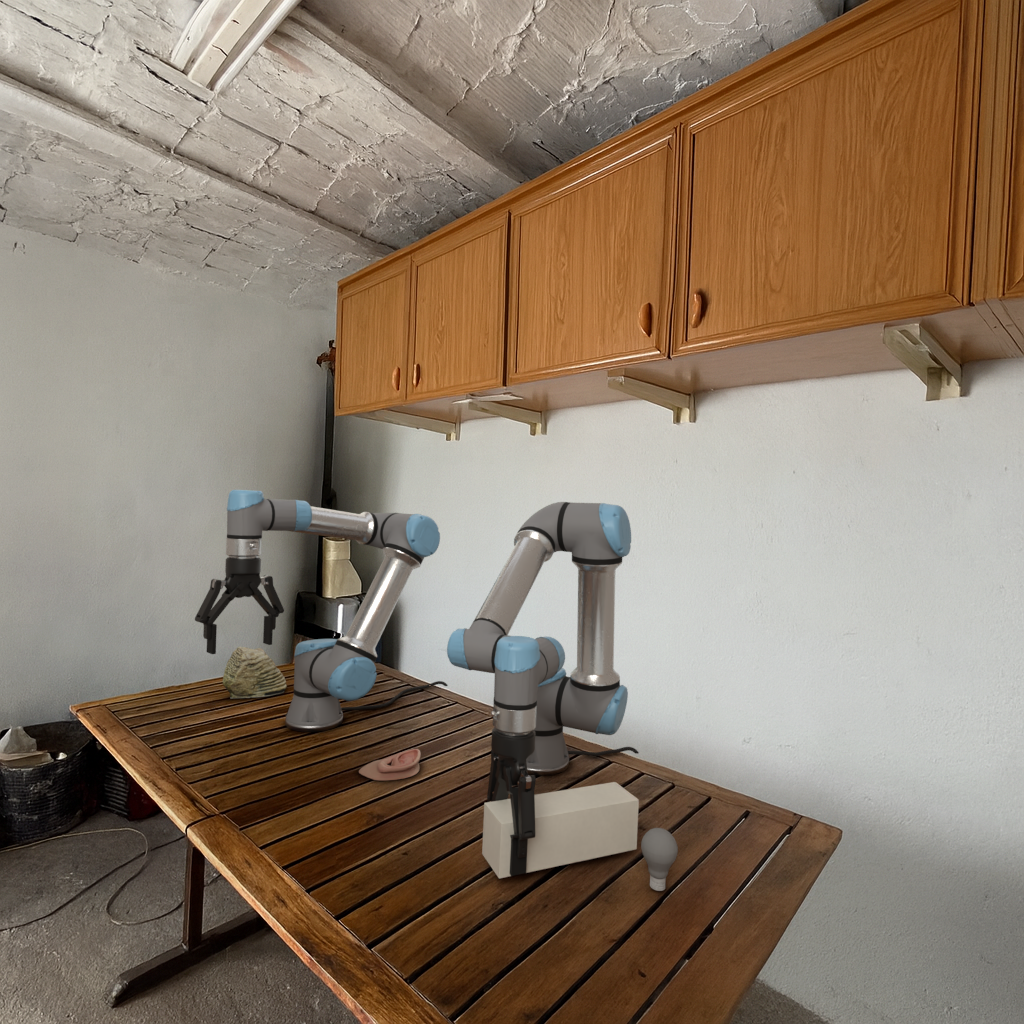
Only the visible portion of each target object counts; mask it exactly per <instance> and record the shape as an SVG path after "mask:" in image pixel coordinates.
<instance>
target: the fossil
mask: <svg viewBox="0 0 1024 1024" xmlns="http://www.w3.org/2000/svg"><path fill="white" fill-rule="evenodd" d="M222 676H223V677H222V685H223V687H224V688H225V690H226V691H228V693H229V698H230V699H250V698H264V697H271V696H275V695H281V694H284V693H285V691H286V689H287V687H288V686H287V680H286V678H285V676H284V674H283V673H282V672H281V669H279V668H278V667H277V665H276V663H275V662H274V660H273V659H272V658H271V657H270V656H269V655H268V654H267V653H266V652H265V650H264V649H263V648H260V647H258V648H251V647H247V646H246V647H245V646H238V647H237V648H236V649H235V650H233V651H232V653H231V656H230V657H229V659H228V660H227V663H226V666H225V668H224V671H223V675H222Z"/></svg>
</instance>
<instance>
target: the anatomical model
mask: <svg viewBox="0 0 1024 1024" xmlns="http://www.w3.org/2000/svg"><path fill="white" fill-rule="evenodd" d="M421 756H422V754H421V750H420V749H419V748H412V749H408V750H404V751H402V752H398V753H396V754H393V755H391V756H388V757H384V758H382V759H377V760H373V761H371V762H369V763H367V764H365V765H363V766H362V767H361V768H360V769H359V770H358V773H359V774H360V775H361V776H363V777H366V778H368V779H371V780H373V781H379V782H380V781H381V782H382V781H397V780H403V779H407V778H410V777H413V776H415V775H417V774H418V773H419V771H420V768H421V766H420V763H419V762H420V760H421Z"/></svg>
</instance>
